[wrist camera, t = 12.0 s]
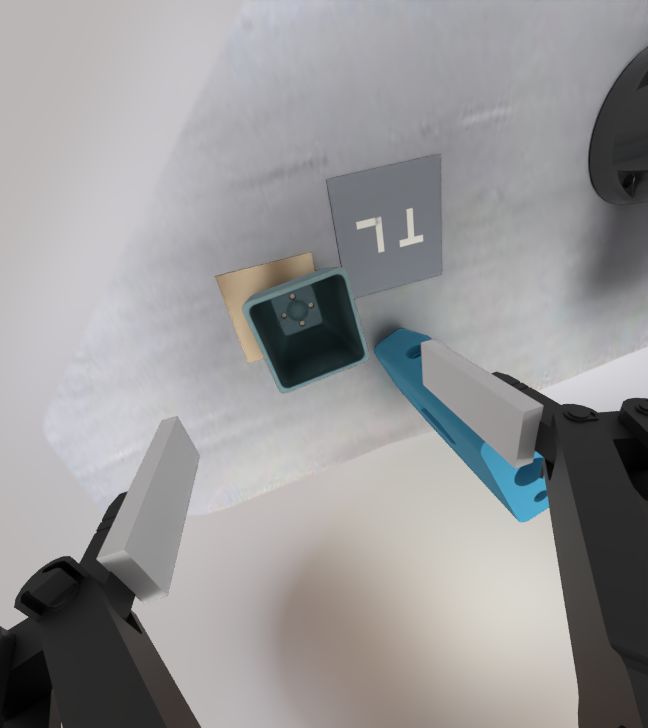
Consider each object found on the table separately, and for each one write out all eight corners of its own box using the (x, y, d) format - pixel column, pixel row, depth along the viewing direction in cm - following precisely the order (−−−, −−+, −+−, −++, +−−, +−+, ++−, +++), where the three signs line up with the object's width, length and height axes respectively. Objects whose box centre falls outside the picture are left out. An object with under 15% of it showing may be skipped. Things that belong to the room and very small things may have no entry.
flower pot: (241, 284, 29) (238, 305, 21) (321, 255, 30) (346, 265, 22) (274, 356, 33) (281, 396, 26) (343, 329, 34) (371, 360, 26)
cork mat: (310, 252, 30) (311, 252, 29) (329, 338, 34) (329, 339, 34) (215, 276, 29) (215, 276, 28) (248, 362, 33) (248, 363, 33)
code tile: (439, 154, 29) (440, 153, 28) (441, 274, 34) (442, 274, 34) (326, 179, 27) (326, 179, 27) (347, 300, 33) (347, 300, 33)
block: (364, 338, 36) (476, 446, 18) (397, 314, 35) (544, 400, 18) (405, 398, 41) (520, 525, 24) (433, 378, 41) (572, 491, 23)
